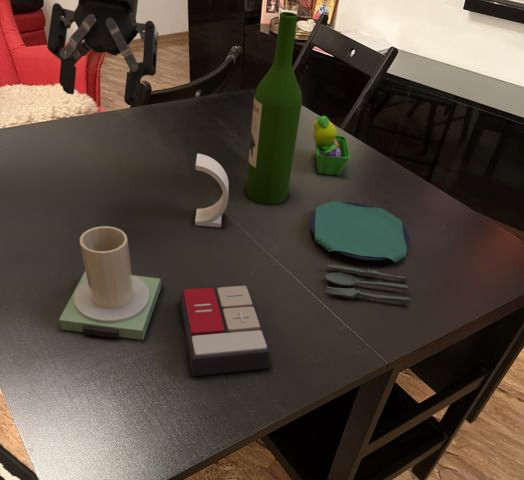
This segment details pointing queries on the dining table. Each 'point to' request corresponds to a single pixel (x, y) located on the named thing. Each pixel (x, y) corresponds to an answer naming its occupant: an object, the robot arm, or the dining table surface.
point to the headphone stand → (214, 212)
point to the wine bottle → (275, 122)
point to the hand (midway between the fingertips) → (98, 98)
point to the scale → (112, 311)
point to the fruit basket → (329, 147)
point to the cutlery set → (360, 243)
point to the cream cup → (107, 266)
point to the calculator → (223, 330)
